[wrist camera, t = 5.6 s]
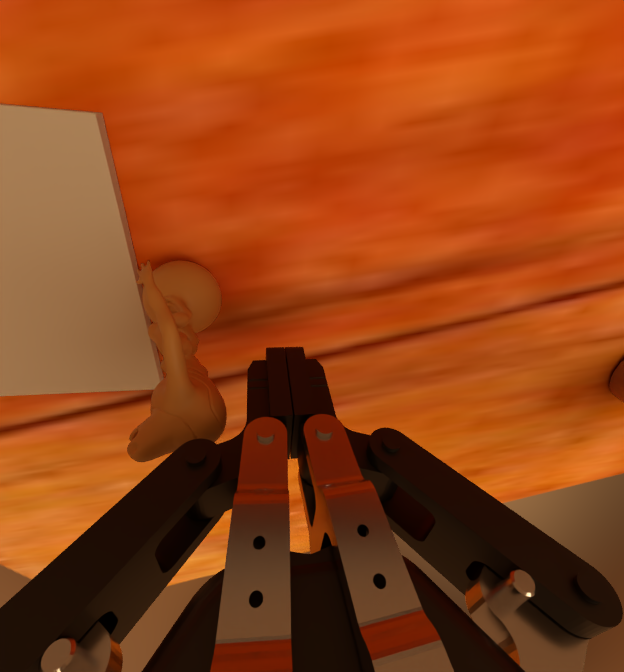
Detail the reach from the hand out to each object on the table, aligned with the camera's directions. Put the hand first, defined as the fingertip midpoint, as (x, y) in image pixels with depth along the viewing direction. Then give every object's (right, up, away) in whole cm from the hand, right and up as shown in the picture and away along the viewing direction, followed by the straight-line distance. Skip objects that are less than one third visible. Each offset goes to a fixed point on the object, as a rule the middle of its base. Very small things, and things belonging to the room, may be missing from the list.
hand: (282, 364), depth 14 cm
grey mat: (-16, +4, +4) cm, 17 cm away
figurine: (-5, +4, +6) cm, 9 cm away
